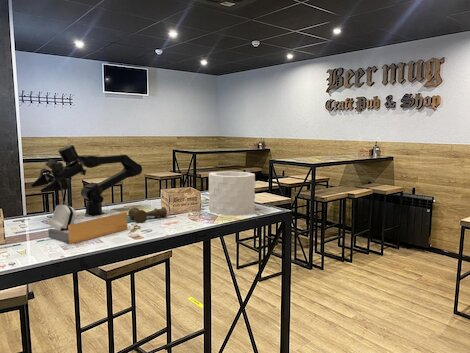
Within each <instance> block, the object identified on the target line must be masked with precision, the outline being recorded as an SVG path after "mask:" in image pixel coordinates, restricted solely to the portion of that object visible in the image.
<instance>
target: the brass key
mask: <svg viewBox="0 0 470 353" xmlns="http://www.w3.org/2000/svg"><path fill="white" fill-rule="evenodd" d="M140 229H141V226H140V225H134V226H133V228H132V229H131V230H129V231H130V233H135V232H136V231H137V230H140Z"/></svg>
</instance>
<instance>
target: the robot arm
mask: <svg viewBox="0 0 470 353" xmlns="http://www.w3.org/2000/svg"><path fill="white" fill-rule="evenodd" d="M57 152H58V154H59V155H60V158H61V160H62V161H63V163H62V162H61V161H58V162H57V161H56V160H55V159H52V158H50V159H49V160H47V162H46V163H45V166H46V167H48V168H49V169H47V168H42V169H40V172H39V177H38V178H37V179H36V180H34V181H33V182H32V184H30V186H31V188H36V187H40V186H44V185H45V186H44V187H43V188H41V189H40V193H42V194H43V193H49V192H50V193H51V192H62V191H64V192H65V191H67V190H69V188H70V184H69V182H68V180H69V181H70V180H71V181H72V179H73V177H75V176H76V175H78V174H80V175H81V176H86V172H87V169H88V168H89V169H92V168H96V167H98V166H101V165H109V164H121V165H122V166H123V168H122V170H121V171H119V172H117V173H115V174H113V175H112V176H109V177H107V178H105V179H104V180H101V181H100V182H98V183H96V182H92V181H91V182H90V183H88V184H87V185H84V186H83V187H82V188H81V191H80V196H81V197H82V198H83V199H84V201H85V202H86V204H85V212H84V215H85V216H89V217H95V216H96V217H97V216H100V215H104V214H105V212H103V207H102V206H103V204H102V203H103V202H104V197H103V196H102V194H103V192H104V191H107V190H108V189H110V188H111V187H114V186H115V185H117V184H119V183H120V182H122V181H124V180H126V179H129V178H133V177H136V176H139V175H141V174H142V173H143V166H142V165H141V164H140V163H137V162H136V161H135V160H133V159H132V158H131V157H130V156H128V155H127V154H123V153H121V154H115V155H114V154H113V155H103V156H96V155H89V154H88V155H87V154H83V155H79V154H78V153H77V151H76V149H75V146H74V145H72V144H71V145H69V146H65V147H62V148H59V149H58V150H57ZM64 163H66V164H67V165H65V166H64ZM84 168H87V169H84ZM50 169H51V170H50Z"/></svg>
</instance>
